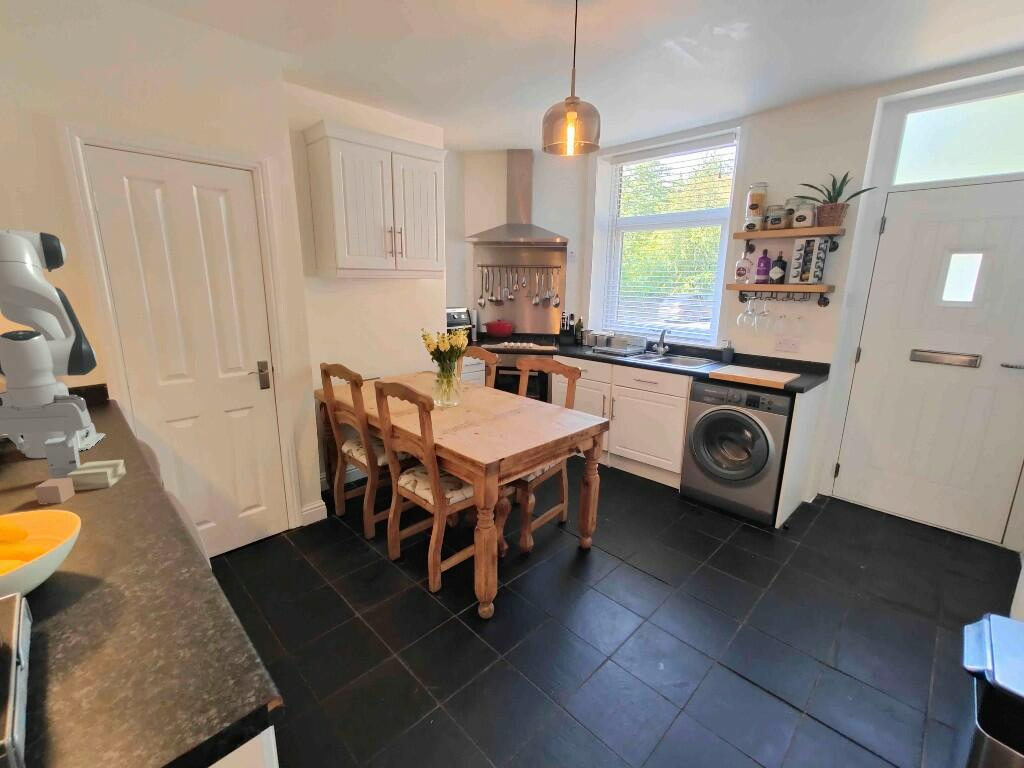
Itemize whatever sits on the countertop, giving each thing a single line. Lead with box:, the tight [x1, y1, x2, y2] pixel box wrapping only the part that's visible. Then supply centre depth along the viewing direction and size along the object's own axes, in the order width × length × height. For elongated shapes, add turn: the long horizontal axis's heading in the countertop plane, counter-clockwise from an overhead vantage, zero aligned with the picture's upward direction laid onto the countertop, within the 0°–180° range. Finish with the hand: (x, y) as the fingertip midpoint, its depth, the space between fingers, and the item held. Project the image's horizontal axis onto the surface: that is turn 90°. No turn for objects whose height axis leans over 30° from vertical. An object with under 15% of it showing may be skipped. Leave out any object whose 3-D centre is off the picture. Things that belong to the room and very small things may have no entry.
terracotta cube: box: [34, 478, 76, 504], centre depth 119 cm, size 5×5×5 cm
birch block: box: [67, 459, 127, 491], centre depth 129 cm, size 9×9×5 cm
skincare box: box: [44, 436, 82, 479], centre depth 130 cm, size 6×4×12 cm
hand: (45, 448), depth 116 cm, fingers open, 8 cm apart
